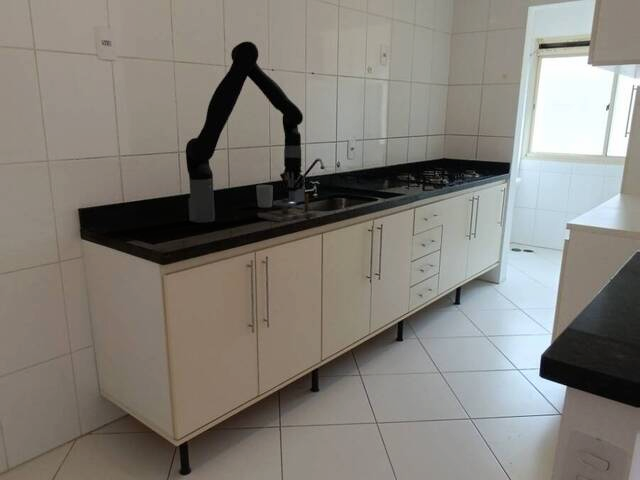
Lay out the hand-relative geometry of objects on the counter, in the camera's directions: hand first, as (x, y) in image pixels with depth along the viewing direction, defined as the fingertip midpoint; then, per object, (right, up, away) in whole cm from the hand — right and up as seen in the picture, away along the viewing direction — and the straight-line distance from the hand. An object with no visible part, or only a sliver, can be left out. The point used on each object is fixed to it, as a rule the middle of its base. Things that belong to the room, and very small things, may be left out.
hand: (292, 195), depth 220 cm
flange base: (-2, -10, -7) cm, 12 cm away
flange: (-1, -4, -7) cm, 8 cm away
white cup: (-14, -4, +18) cm, 23 cm away
